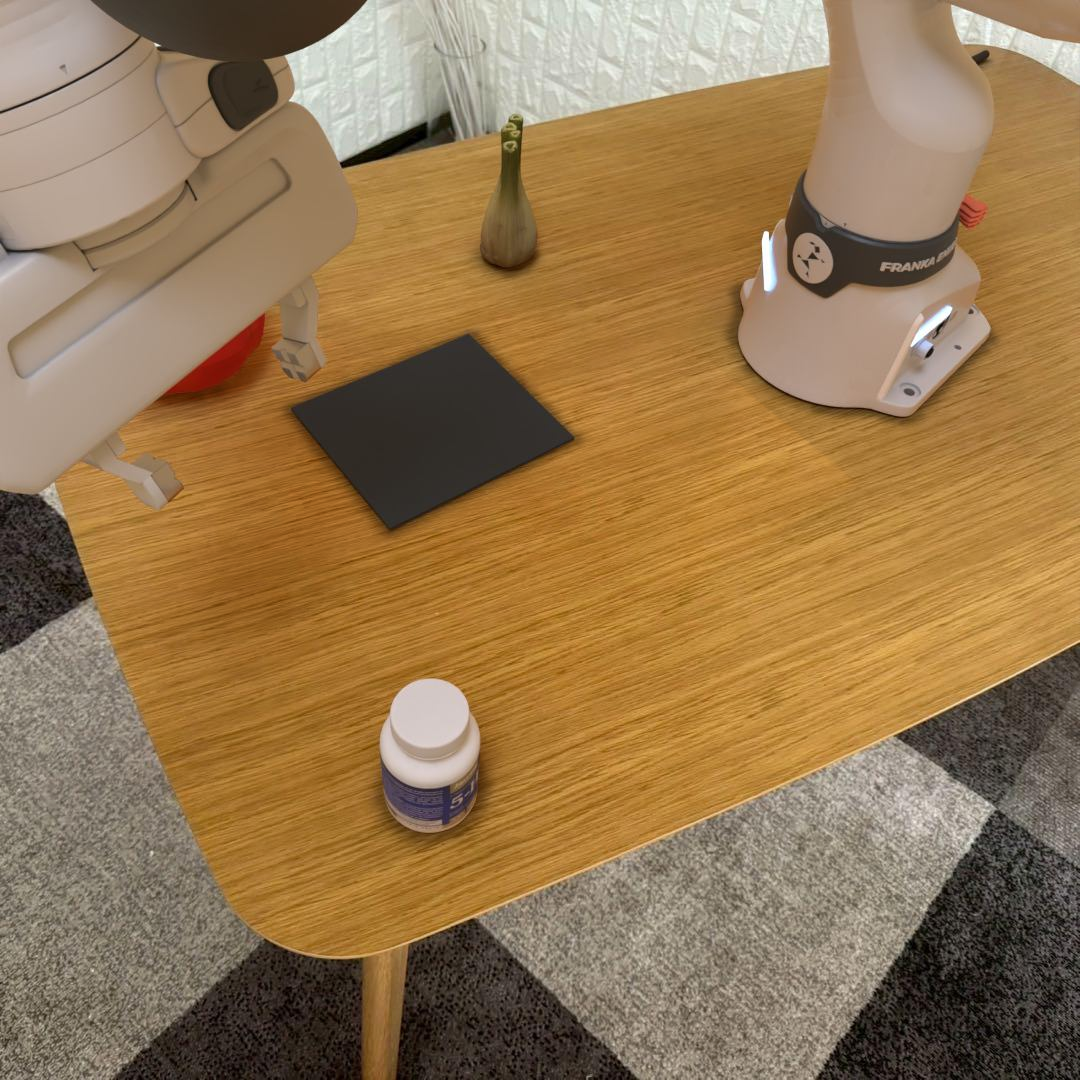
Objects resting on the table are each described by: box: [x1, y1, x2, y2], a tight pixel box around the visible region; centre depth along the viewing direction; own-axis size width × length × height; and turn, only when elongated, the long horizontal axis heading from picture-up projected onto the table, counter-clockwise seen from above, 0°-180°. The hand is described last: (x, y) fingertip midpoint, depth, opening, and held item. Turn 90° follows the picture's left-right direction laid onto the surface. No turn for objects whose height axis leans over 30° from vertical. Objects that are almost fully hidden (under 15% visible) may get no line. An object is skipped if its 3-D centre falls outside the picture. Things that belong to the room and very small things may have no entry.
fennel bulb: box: [479, 113, 539, 268], centre depth 85 cm, size 6×5×12 cm
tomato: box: [162, 312, 266, 396], centre depth 75 cm, size 13×12×8 cm
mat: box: [290, 333, 575, 532], centre depth 76 cm, size 16×14×1 cm
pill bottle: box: [379, 677, 482, 834], centre depth 54 cm, size 5×5×9 cm
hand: (239, 431), depth 47 cm, fingers open, 8 cm apart
